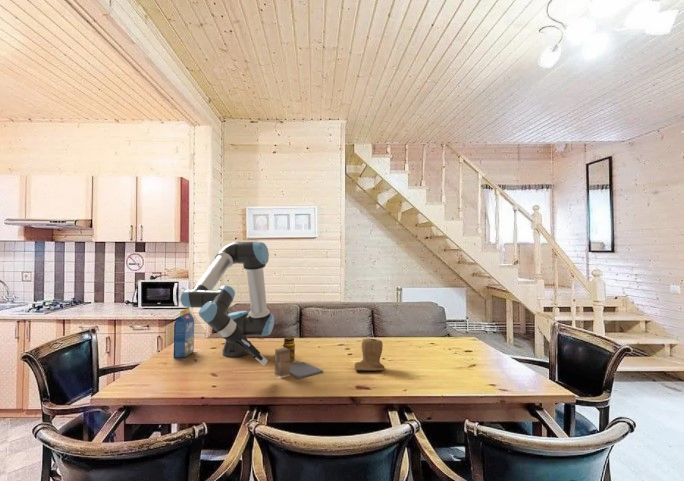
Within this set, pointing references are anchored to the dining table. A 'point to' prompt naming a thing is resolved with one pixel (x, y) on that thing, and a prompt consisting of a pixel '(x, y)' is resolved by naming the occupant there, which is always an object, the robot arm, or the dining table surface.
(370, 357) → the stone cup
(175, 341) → the blue food package
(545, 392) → the dining table surface
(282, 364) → the walnut block
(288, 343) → the condiment
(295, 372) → the mat
